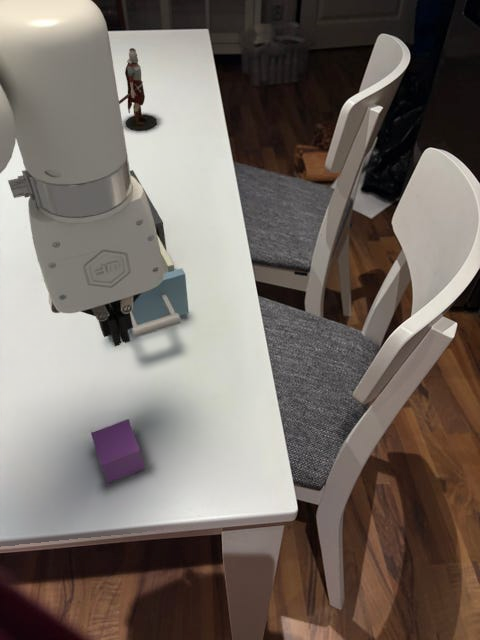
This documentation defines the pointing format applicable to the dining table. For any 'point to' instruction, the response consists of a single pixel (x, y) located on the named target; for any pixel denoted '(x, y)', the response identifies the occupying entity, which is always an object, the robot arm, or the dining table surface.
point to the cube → (117, 451)
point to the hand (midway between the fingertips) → (118, 334)
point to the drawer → (161, 301)
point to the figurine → (136, 96)
